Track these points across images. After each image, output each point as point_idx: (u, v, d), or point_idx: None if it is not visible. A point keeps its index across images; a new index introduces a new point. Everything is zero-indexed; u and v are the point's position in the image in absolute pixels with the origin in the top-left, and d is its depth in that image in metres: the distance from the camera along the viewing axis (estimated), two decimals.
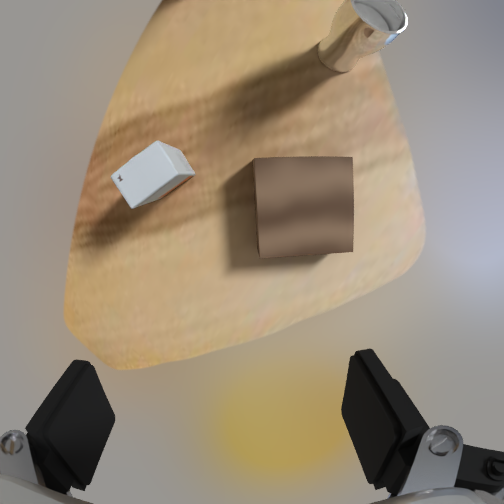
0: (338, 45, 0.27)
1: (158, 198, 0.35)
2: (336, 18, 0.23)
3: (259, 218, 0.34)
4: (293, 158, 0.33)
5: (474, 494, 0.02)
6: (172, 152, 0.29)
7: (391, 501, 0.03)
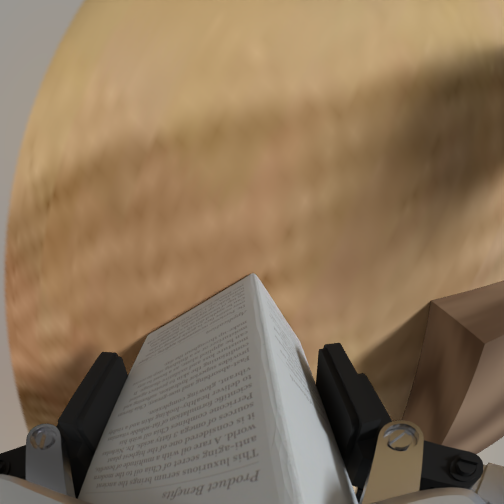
0: None
1: None
2: None
3: None
4: None
5: (474, 494, 0.02)
6: (310, 441, 0.05)
7: (390, 501, 0.03)
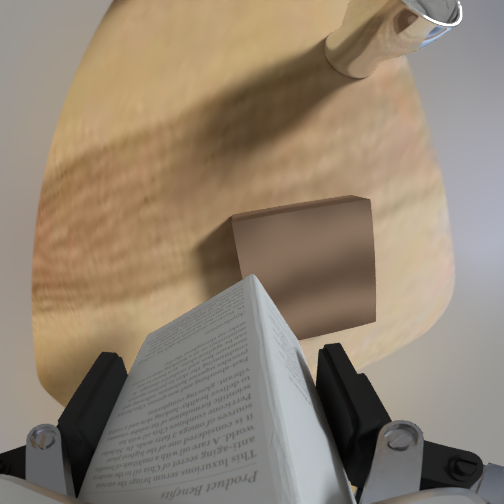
0: (358, 40, 0.17)
1: None
2: (355, 0, 0.13)
3: None
4: (287, 215, 0.23)
5: (474, 494, 0.02)
6: (309, 442, 0.05)
7: (390, 501, 0.03)
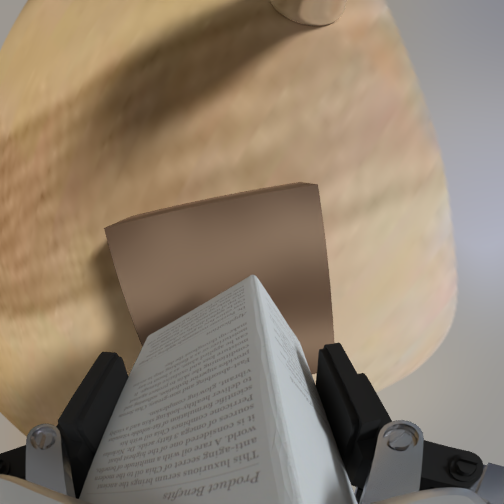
0: None
1: None
2: None
3: (141, 337, 0.17)
4: (178, 214, 0.15)
5: (474, 494, 0.02)
6: (310, 443, 0.05)
7: (390, 502, 0.03)
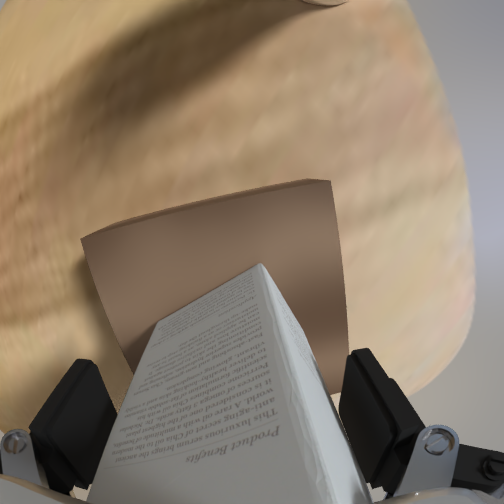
0: None
1: None
2: None
3: (130, 361, 0.14)
4: (164, 220, 0.12)
5: (474, 494, 0.02)
6: (320, 407, 0.06)
7: (390, 501, 0.03)
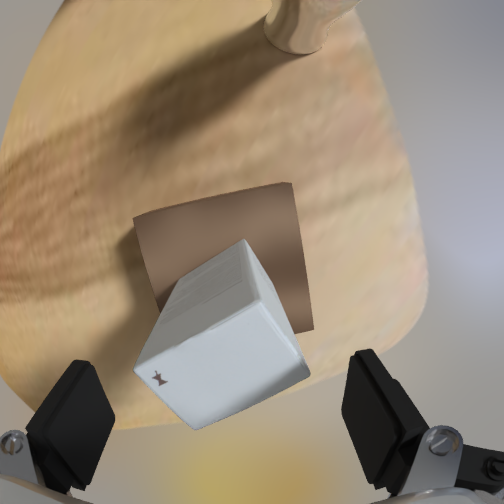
0: (282, 5, 0.14)
1: None
2: None
3: (159, 304, 0.22)
4: (190, 206, 0.21)
5: (474, 494, 0.02)
6: (265, 286, 0.14)
7: (390, 501, 0.03)
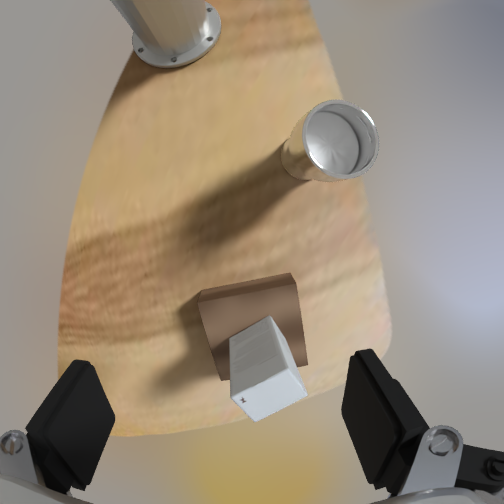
0: (297, 167, 0.29)
1: None
2: (290, 143, 0.25)
3: (213, 351, 0.36)
4: (234, 297, 0.34)
5: (474, 494, 0.02)
6: (286, 354, 0.27)
7: (390, 501, 0.03)
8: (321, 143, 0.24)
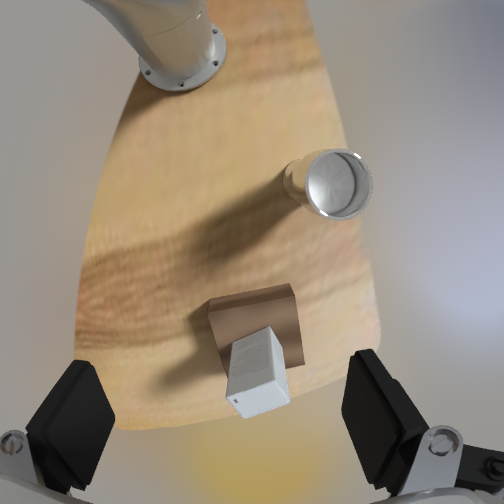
0: None
1: None
2: (293, 181, 0.29)
3: (221, 354, 0.41)
4: (240, 308, 0.39)
5: (474, 494, 0.02)
6: (277, 365, 0.32)
7: (391, 501, 0.03)
8: (321, 182, 0.28)
